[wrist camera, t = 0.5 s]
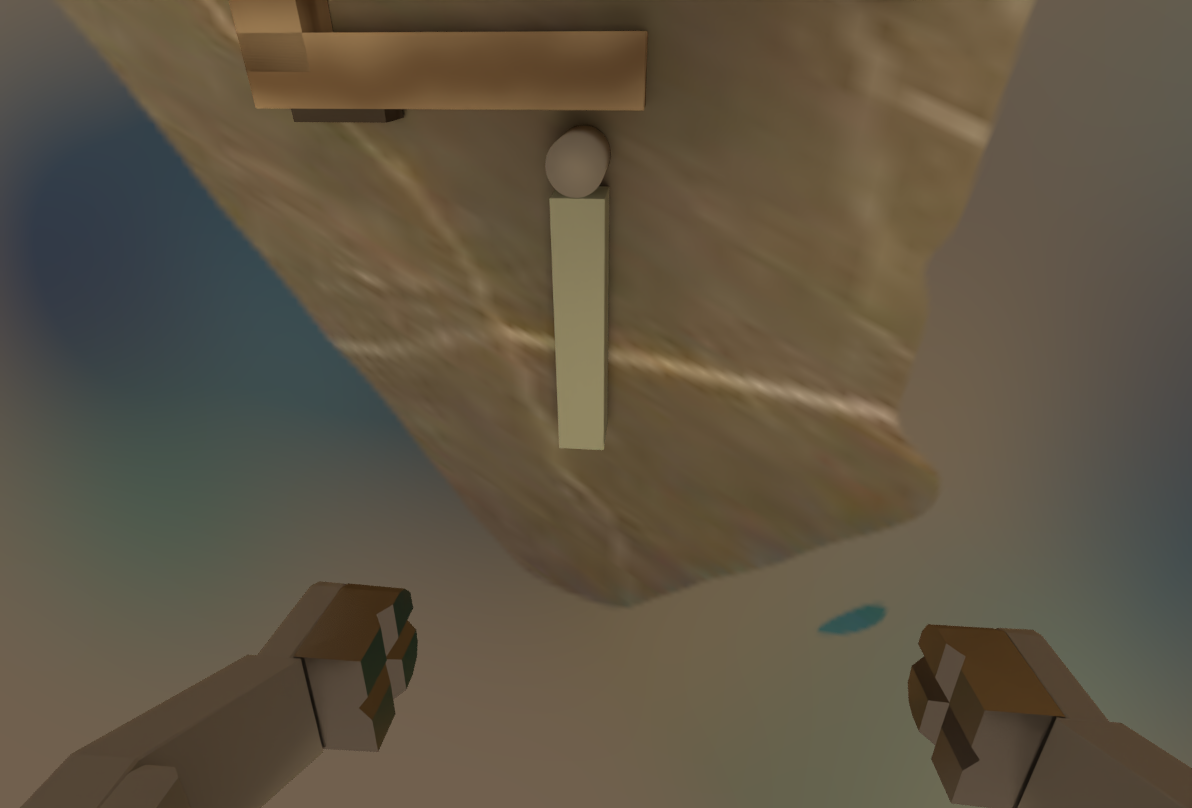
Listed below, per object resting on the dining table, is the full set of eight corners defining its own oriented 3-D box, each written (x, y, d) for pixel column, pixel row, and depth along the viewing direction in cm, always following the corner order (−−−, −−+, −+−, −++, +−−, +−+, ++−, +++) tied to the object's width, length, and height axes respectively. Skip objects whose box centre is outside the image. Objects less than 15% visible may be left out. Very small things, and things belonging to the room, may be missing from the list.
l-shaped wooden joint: (236, -128, 36) (191, -147, 32) (653, -139, 34) (652, -160, 30) (292, 115, 42) (259, 122, 39) (644, 118, 40) (643, 125, 37)
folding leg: (556, 124, 41) (543, 134, 36) (610, 125, 40) (604, 134, 36) (565, 419, 52) (557, 453, 48) (608, 421, 52) (603, 455, 47)
